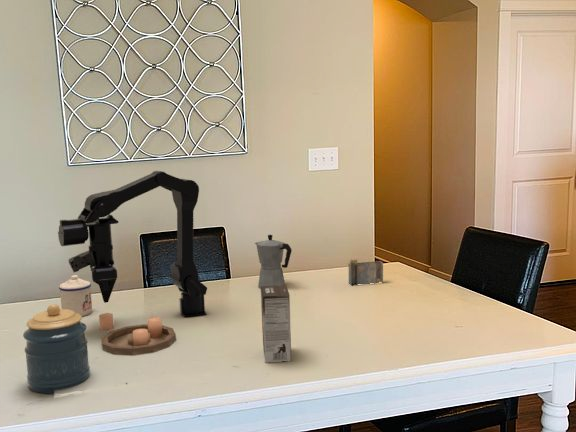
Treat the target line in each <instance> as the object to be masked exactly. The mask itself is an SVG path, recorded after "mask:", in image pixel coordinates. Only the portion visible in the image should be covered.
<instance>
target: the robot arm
mask: <svg viewBox="0 0 576 432" xmlns="http://www.w3.org/2000/svg"><path fill="white" fill-rule="evenodd" d="M159 187H161V188H163V189H165V190H167V191H170V192H171V193H172V194H171V195H172V200H173V203H174V205H175V208H176V213H177V214H176V218H177V219H176V223H177V224H176V226H177V227H176V238H177V239H176V240H177V241H176V242H177V243H176V244H177V245H176V246H177V247H176V248H177V251H176V254H177V255H176V256H177V257H176V261H175V264H170V265H169V267H170V276H169V279H171V282H172V284H173V285H174V286H176V287H177V288H178V290H179V292H181V293H180V297H179V312H180V313H181V315H182V316H183V317H184V318H188V317H195V316H196V317H197V316H198V317H199V316H204V315H207V312H206V311H205V310H206V309H205V307H206V306H205V295H207V291H208V287H207V286H206V285H205V284H203V283H202V282H201V281H200V279H199V272H198V268H197V265H196V262H195V259H194V210H195V208H196V207H197V206H196V205H197V203H198V199H199V195H200V186H199V184H198V183H197V182H196V181H194V180H193V179H186V178H179V177H176V176H173V175H171V174H169V173H166V171H161V170H153V171H152V172H151V173H150V174H149V173H148V174H147V175H144V176H143V177H140V178H138V179H136V180H134V181H132V182H131V181H130V183H127V184H125V185H123V186H121V187H117V188H116V189H112V190H106V191H105V190H104V191H101V192H97V193H93V194H90V195H88V196H87V197H86V199H85V201H84V208H83V209H82V210H81V212H80V214H79V215H78V217H77V218H74V219H60V220H59V226H58V231H57V235H58V236H57V237H58V242H59V244H60V246H61V247H69V246H76V245H77V246H78V245H84V244H85V242H87V241H88V239H89V245H88V250H86V251H83V252H82V253H79V254H76V255H74V256H72V257H70V258H69V259H68V264H69V266H70V268H71V270H72V271H73V273H77V272H79V271H80V270H81V269H82V270H83V268H86V267H87V268H88V266H89V268H90V271H91V278H92V279H91V280H92V282H94V283H95V284H97V286H99V290H100V293H101V296H102V300H103V303H104V304H105V303H108V302H109V301H110V299H111V295H112V293H113V289H114V287H115V284H116V282H117V279H118V270H117V267H116V266H114V265H115V260H114V254H113V249H114V248H113V247H114V246H113V240H112V237H113V236H112V227H111V226H112V225H114V224H119V220H117V219H116V218H115V217H114V216H113V215H112V213H113V212H115V211H116V210H117V209H118V208H119V207H121V206H122V205H124V203H126V202H128V201H131V200H134V199H135V198H137V197H139V196H141V195H143V194H146V193H148V192H150V191H153V190H154V189H157V188H159Z"/></svg>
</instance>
